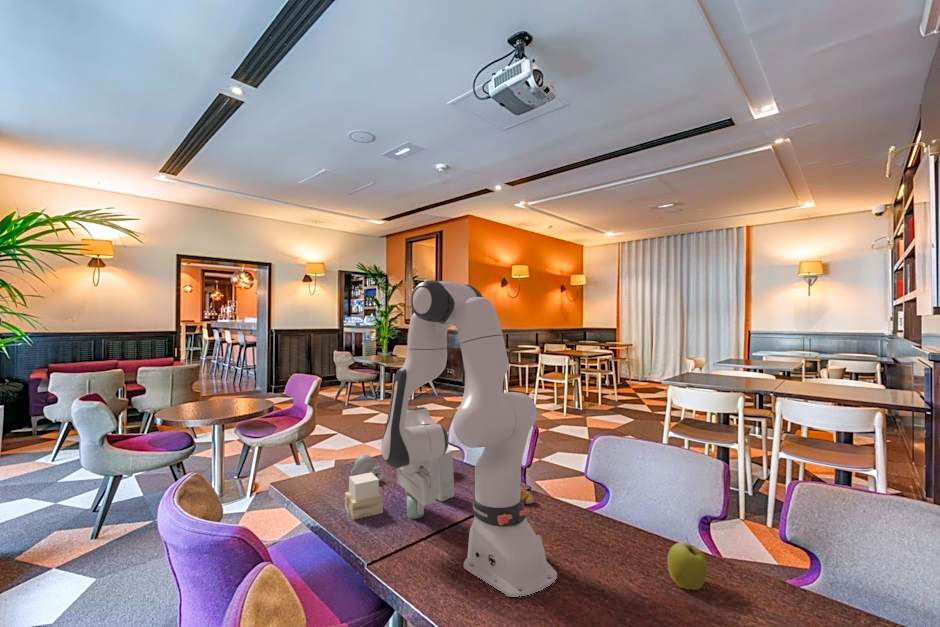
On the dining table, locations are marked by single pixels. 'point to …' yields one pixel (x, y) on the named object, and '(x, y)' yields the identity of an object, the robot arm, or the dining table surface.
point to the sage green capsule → (412, 508)
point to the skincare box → (443, 476)
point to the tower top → (363, 486)
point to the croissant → (526, 496)
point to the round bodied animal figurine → (365, 466)
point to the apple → (687, 566)
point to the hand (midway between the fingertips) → (415, 509)
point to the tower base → (363, 506)
